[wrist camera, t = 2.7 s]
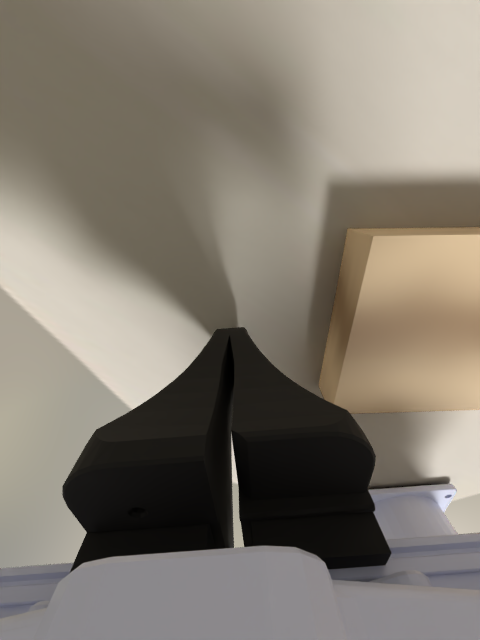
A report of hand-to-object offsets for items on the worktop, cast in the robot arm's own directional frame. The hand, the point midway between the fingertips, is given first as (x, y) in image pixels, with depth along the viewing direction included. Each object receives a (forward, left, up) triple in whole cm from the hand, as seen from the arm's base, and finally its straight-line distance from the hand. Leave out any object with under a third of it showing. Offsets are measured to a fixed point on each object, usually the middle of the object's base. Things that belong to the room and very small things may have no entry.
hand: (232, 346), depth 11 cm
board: (0, -11, -2) cm, 11 cm away
